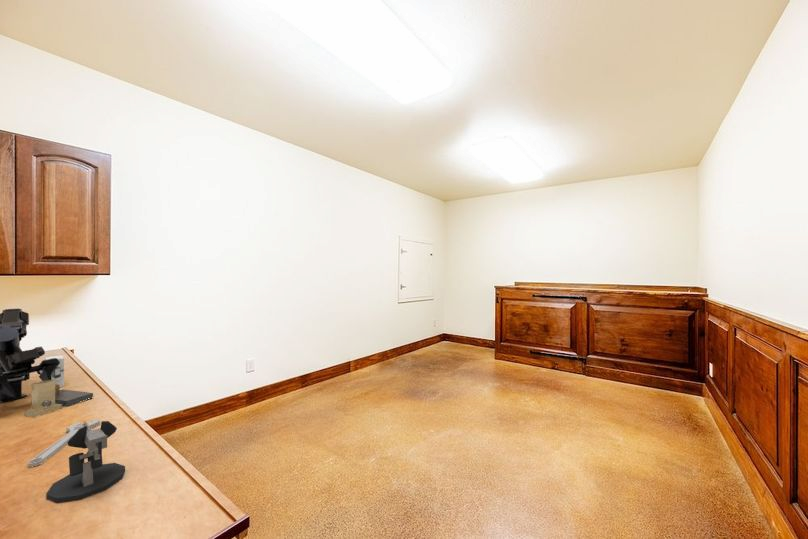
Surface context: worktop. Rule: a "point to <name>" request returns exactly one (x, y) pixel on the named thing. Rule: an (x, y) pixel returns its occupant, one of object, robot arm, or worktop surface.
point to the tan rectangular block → (43, 399)
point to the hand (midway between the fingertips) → (33, 391)
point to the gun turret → (87, 466)
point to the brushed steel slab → (70, 396)
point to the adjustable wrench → (60, 443)
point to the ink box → (58, 371)
